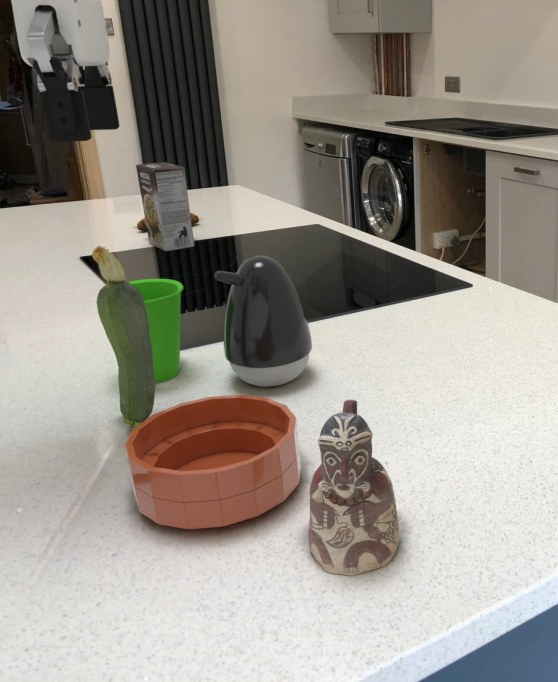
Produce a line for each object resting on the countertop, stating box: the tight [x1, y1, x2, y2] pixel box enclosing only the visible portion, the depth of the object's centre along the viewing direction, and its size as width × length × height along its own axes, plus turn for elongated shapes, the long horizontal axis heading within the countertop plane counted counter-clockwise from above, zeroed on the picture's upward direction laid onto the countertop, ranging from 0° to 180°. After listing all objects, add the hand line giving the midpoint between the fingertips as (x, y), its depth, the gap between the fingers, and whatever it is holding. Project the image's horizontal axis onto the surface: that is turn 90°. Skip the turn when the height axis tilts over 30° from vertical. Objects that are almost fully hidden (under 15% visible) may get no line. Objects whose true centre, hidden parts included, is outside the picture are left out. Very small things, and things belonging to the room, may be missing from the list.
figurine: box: [307, 399, 400, 577], centre depth 57 cm, size 7×7×12 cm
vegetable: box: [91, 245, 156, 428], centre depth 74 cm, size 4×4×20 cm
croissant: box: [136, 212, 200, 232], centre depth 164 cm, size 14×7×5 cm, turn 125°
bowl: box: [123, 394, 302, 530], centre depth 66 cm, size 14×14×6 cm
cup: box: [128, 278, 184, 384], centre depth 88 cm, size 9×9×11 cm
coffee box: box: [135, 161, 195, 252], centre depth 147 cm, size 9×6×16 cm
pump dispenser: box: [214, 255, 313, 388], centre depth 86 cm, size 10×10×15 cm
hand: (87, 134), depth 67 cm, fingers open, 9 cm apart
